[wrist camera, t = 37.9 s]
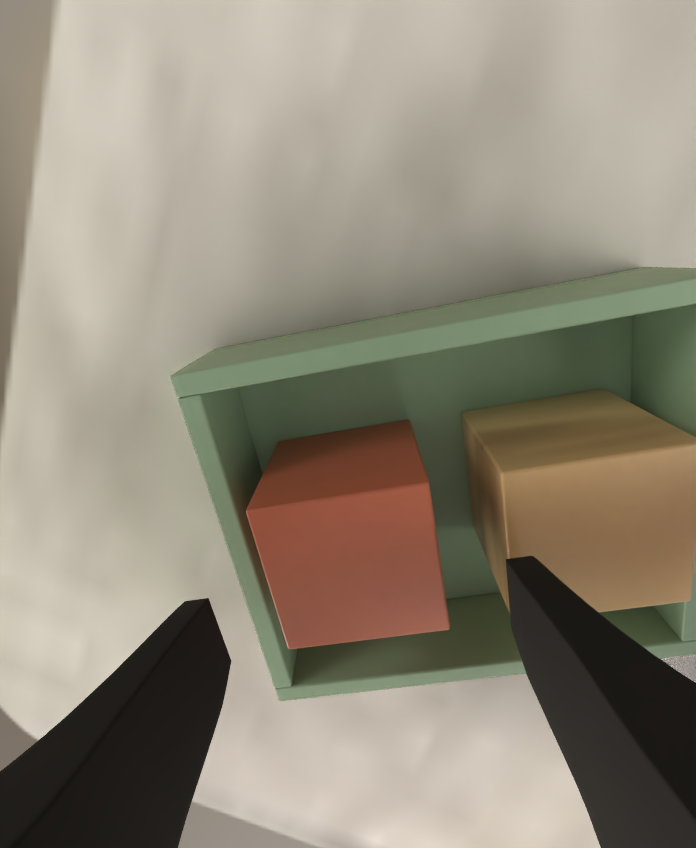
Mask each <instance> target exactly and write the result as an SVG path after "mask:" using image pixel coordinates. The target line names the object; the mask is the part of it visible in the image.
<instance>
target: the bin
mask: <svg viewBox="0 0 696 848" xmlns="http://www.w3.org/2000/svg"><path fill="white" fill-rule="evenodd" d="M171 380H172V383H173V386H174V389H175V392H176V395H177V397H180V398H179V404H180V407H181V410H182V413H183V416H184V419H185V422H186V425H187V428H188V431H189V434H190V437H191V440H192V443H193V446H194V449H195V452H196V455H197V457H198V460H199V463H200V466H201V469H202V472H203V475H204V478H205V481H206V484H207V487H208V490H209V493H210V496H211V499H212V502H213V505H214V508H215V511H216V514H217V517H218V520H219V523H220V526H221V529H222V532H223V535H224V538H225V541H226V544H227V547H228V550H229V553H230V556H231V559H232V562H233V565H234V568H235V571H236V574H237V577H238V580H239V583H240V586H241V589H242V592H243V595H244V598H245V601H246V604H247V607H248V610H249V613H250V616H251V619H252V622H253V625H254V628H255V631H256V634H257V637H258V640H259V643H260V646H261V649H262V652H263V655H264V658H265V661H266V664H267V667H268V670H269V673H270V676H271V679H272V682H273V685H274V687H275V690H276V693H277V696H278V699H279V701H286V700H295V699H303V698H312V697H321V696H330V695H339V694H348V693H357V692H366V691H374V690H383V689H392V688H401V687H410V686H419V685H428V684H436V683H445V682H454V681H463V680H472V679H481V678H490V677H498V676H507V675H516V674H525V673H526V671H525V668H524V665H523V662H522V659H521V656H520V653H519V650H518V647H517V644H516V641H515V638H514V635H513V632H512V629H511V619H510V613H509V611H508V609H507V606H506V604H505V601H504V599H503V597H502V594H501V592H500V589H499V587H498V585H497V582H496V580H495V577H494V575H493V573H492V570H491V568H490V565H489V563H488V561H487V558H486V556H485V553H484V551H483V549H482V546H481V544H480V541H479V539H478V537H477V534H476V532H475V529H474V525H473V516H472V507H471V498H470V489H469V480H468V471H467V462H466V453H465V444H464V435H463V426H462V417H461V414H462V412H464V411H470V410H476V409H482V408H488V407H494V406H500V405H506V404H512V403H518V402H524V401H529V400H535V399H541V398H547V397H553V396H559V395H565V394H571V393H577V392H583V391H589V390H595V389H601V388H603V389H606V390H608V391H609V392H611V393H613V394H615V395H617V396H619V397H621V398H623V399H624V400H626V401H628V402H630V403H632V404H634V405H636V406H638V407H639V408H641V409H643V410H645V411H647V412H649V413H651V414H653V415H654V416H656V417H658V418H660V419H662V420H664V421H666V422H668V423H669V424H671V425H673V426H675V427H677V428H679V429H681V430H683V431H684V432H686V433H688V434H690V435H692V436H694V437H696V268H663V267H642V268H637V269H631V270H626V271H621V272H616V273H610V274H605V275H600V276H595V277H589V278H584V279H579V280H574V281H568V282H563V283H558V284H553V285H547V286H542V287H537V288H532V289H526V290H521V291H516V292H511V293H506V294H500V295H495V296H490V297H485V298H479V299H474V300H469V301H464V302H458V303H453V304H448V305H443V306H437V307H432V308H427V309H422V310H416V311H411V312H406V313H401V314H395V315H390V316H385V317H380V318H375V319H369V320H364V321H359V322H354V323H348V324H343V325H338V326H333V327H327V328H322V329H317V330H312V331H306V332H301V333H296V334H291V335H285V336H280V337H275V338H270V339H264V340H259V341H254V342H249V343H243V344H238V345H233V346H228V347H223V348H217V349H214V350H212V351H211V352H209V353H207V354H206V355H204V356H202V357H201V358H199V359H198V360H196V361H194V362H193V363H191V364H189V365H188V366H186V367H184V368H183V369H181V370H179V371H178V372H176V373H174V374H173V375H171ZM402 420H410V421H411V424H412V427H413V431H414V434H415V437H416V441H417V444H418V447H419V451H420V454H421V457H422V461H423V464H424V467H425V471H426V474H427V477H428V481H429V484H430V491H431V498H432V505H433V512H434V519H435V526H436V533H437V540H438V547H439V554H440V561H441V567H442V574H443V581H444V588H445V595H446V602H447V609H448V616H449V623H450V628H449V629H448V630H443V631H434V632H426V633H418V634H410V635H402V636H394V637H386V638H378V639H370V640H361V641H353V642H345V643H337V644H329V645H321V646H313V647H305V648H297V649H288V647H287V644H286V641H285V637H284V634H283V631H282V628H281V624H280V621H279V618H278V615H277V611H276V608H275V605H274V602H273V598H272V595H271V592H270V589H269V585H268V582H267V579H266V576H265V572H264V569H263V566H262V563H261V559H260V556H259V553H258V550H257V546H256V543H255V540H254V537H253V533H252V530H251V527H250V524H249V520H248V517H247V514H246V510H247V507H248V505H249V503H250V501H251V499H252V497H253V494H254V492H255V490H256V488H257V486H258V484H259V482H260V479H261V477H262V475H263V473H264V471H265V469H266V466H267V464H268V462H269V460H270V458H271V456H272V453H273V451H274V449H275V447H276V445H277V443H278V442H279V441H283V440H289V439H295V438H301V437H307V436H313V435H319V434H325V433H331V432H337V431H343V430H349V429H355V428H360V427H366V426H372V425H378V424H384V423H390V422H396V421H402ZM599 613H600V614H601V615H602V616H604V617H605V618H606V619H607V620H609V621H610V622H611V623H612V624H614V625H615V626H616V627H617V628H619V629H620V630H621V631H623V632H624V633H625V634H626V635H628V636H629V637H630V638H632V639H633V640H634V641H636V642H637V643H639V644H640V645H641V646H643V647H644V648H645V649H647V650H648V651H649V652H651V653H652V654H653V655H655V656H656V657H658V658H667V657H676V656H685V655H693V654H696V549H695V561H694V572H693V584H692V595H691V600H690V601H686V602H678V603H670V604H662V605H654V606H646V607H638V608H630V609H621V610H613V611H605V612H599Z"/></svg>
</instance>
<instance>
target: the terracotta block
mask: <svg viewBox="0 0 696 848" xmlns="http://www.w3.org/2000/svg"><path fill="white" fill-rule="evenodd" d="M246 514H247V517H248V520H249V524H250V527H251V530H252V533H253V537H254V540H255V543H256V546H257V550H258V553H259V556H260V559H261V563H262V566H263V569H264V572H265V576H266V579H267V582H268V585H269V589H270V592H271V595H272V598H273V602H274V605H275V608H276V611H277V615H278V618H279V621H280V624H281V628H282V631H283V634H284V637H285V641H286V644H287V647H288V649H297V648H305V647H313V646H321V645H329V644H337V643H345V642H353V641H361V640H370V639H378V638H386V637H394V636H402V635H410V634H418V633H426V632H434V631H443V630H448V629H449V628H450V623H449V616H448V609H447V602H446V595H445V588H444V581H443V574H442V567H441V561H440V554H439V547H438V540H437V533H436V526H435V519H434V512H433V505H432V498H431V491H430V484H429V481H428V477H427V474H426V471H425V467H424V464H423V461H422V457H421V454H420V451H419V447H418V444H417V441H416V437H415V434H414V431H413V427H412V424H411V421H410V420H402V421H396V422H390V423H384V424H378V425H372V426H366V427H360V428H355V429H349V430H343V431H337V432H331V433H325V434H319V435H313V436H307V437H301V438H295V439H289V440H283V441H279V442H278V443H277V445H276V447H275V449H274V451H273V453H272V456H271V458H270V460H269V462H268V464H267V466H266V469H265V471H264V473H263V475H262V477H261V479H260V482H259V484H258V486H257V488H256V490H255V492H254V494H253V497H252V499H251V501H250V503H249V505H248V507H247V510H246Z"/></svg>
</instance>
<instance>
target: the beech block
mask: <svg viewBox="0 0 696 848" xmlns="http://www.w3.org/2000/svg"><path fill="white" fill-rule="evenodd" d="M461 417H462V426H463V435H464V444H465V453H466V462H467V471H468V480H469V489H470V498H471V507H472V516H473V525H474V529H475V532H476V534H477V537H478V539H479V541H480V544H481V546H482V549H483V551H484V553H485V556H486V558H487V561H488V563H489V565H490V568H491V570H492V573H493V575H494V577H495V580H496V582H497V585H498V587H499V589H500V592H501V594H502V597H503V599H504V601H505V604H506V606H507V609H508V611H509V613H510V607H509V595H508V583H507V571H506V559H510V558H518V557H525V556H534V557H535V558H537V559H538V560H539V561H540V562H541V563H542V564H543V565H544V566H546V567H547V568H548V569H549V570H550V571H551V572H552V573H553V574H554V575H555V576H557V577H558V578H559V579H560V580H561V581H562V582H563V583H564V584H566V585H567V586H568V587H569V588H570V589H571V590H572V591H574V592H575V593H576V594H577V595H578V596H579V597H581V598H582V599H583V600H584V601H585V602H586V603H588V604H589V605H590V606H591V607H593V608H594V609H595V610H596V611H597V612H605V611H613V610H621V609H630V608H638V607H646V606H654V605H662V604H670V603H678V602H686V601H690V600H691V595H692V584H693V572H694V561H695V549H696V437H694V436H692V435H690V434H688V433H686V432H684V431H683V430H681V429H679V428H677V427H675V426H673V425H671V424H669V423H668V422H666V421H664V420H662V419H660V418H658V417H656V416H654V415H653V414H651V413H649V412H647V411H645V410H643V409H641V408H639V407H638V406H636V405H634V404H632V403H630V402H628V401H626V400H624V399H623V398H621V397H619V396H617V395H615V394H613V393H611V392H609V391H608V390H606V389H603V388H601V389H595V390H589V391H583V392H577V393H571V394H565V395H559V396H553V397H547V398H541V399H535V400H529V401H524V402H518V403H512V404H506V405H500V406H494V407H488V408H482V409H476V410H470V411H464V412H462V414H461Z"/></svg>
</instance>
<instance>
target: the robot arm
mask: <svg viewBox="0 0 696 848" xmlns="http://www.w3.org/2000/svg"><path fill="white" fill-rule="evenodd" d="M506 571H507V583H508V595H509V607H510V619H511V629H512V632H513V635H514V638H515V641H516V644H517V647H518V650H519V653H520V656H521V659H522V662H523V665H524V668H525V671H526V674H527V676H528V678H529V680H530V683H531V685H532V687H533V689H534V692H535V694H536V696H537V698H538V700H539V703H540V705H541V707H542V709H543V712H544V714H545V716H546V718H547V720H548V723H549V725H550V727H551V729H552V731H553V734H554V736H555V738H556V740H557V742H558V745H559V747H560V749H561V751H562V753H563V755H564V758H565V760H566V762H567V764H568V766H569V769H570V771H571V773H572V775H573V777H574V780H575V782H576V784H577V787H578V789H579V791H580V794H581V796H582V799H583V801H584V803H585V806H586V808H587V811H588V813H589V816H590V819H591V822H592V824H593V827H594V830H595V833H596V835H597V838H598V841H599V844H600V846H601V848H696V683H695V682H693V681H692V680H690V679H689V678H687V677H686V676H684V675H682V674H681V673H679V672H678V671H676V670H675V669H673V668H672V667H671V666H669V665H668V664H666V663H665V662H663V661H662V660H661V659H659V658H658V657H656V656H655V655H653V654H652V653H651V652H649V651H648V650H647V649H645V648H644V647H643V646H641V645H640V644H639V643H637V642H636V641H634V640H633V639H632V638H630V637H629V636H628V635H626V634H625V633H624V632H623V631H621V630H620V629H619V628H617V627H616V626H615V625H614V624H612V623H611V622H610V621H609V620H607V619H606V618H605V617H604V616H602V615H601V614H600V613H599V612H597V611H596V610H595V609H594V608H593V607H591V606H590V605H589V604H588V603H586V602H585V601H584V600H583V599H582V598H581V597H579V596H578V595H577V594H576V593H575V592H574V591H572V590H571V589H570V588H569V587H568V586H567V585H566V584H564V583H563V582H562V581H561V580H560V579H559V578H558V577H557V576H555V575H554V574H553V573H552V572H551V571H550V570H549V569H548V568H547V567H546V566H544V565H543V564H542V563H541V562H540V561H539V560H538V559H537V558H535V557H534V556H525V557H518V558H510V559H506ZM230 664H231V659H230V656H229V654H228V651H227V648H226V645H225V643H224V640H223V637H222V634H221V632H220V629H219V626H218V623H217V621H216V618H215V615H214V612H213V610H212V607H211V604H210V601H209V599H208V598H207V599H199V600H192V601H185V602H184V603H183V604H182V605H181V606H179V607H178V608H177V609H176V610H175V611H174V612H173V613H172V614H171V615H170V616H169V617H168V618H167V619H166V620H165V621H164V622H163V623H162V624H161V625H160V626H159V627H158V628H157V629H156V630H155V631H154V632H153V633H152V634H151V635H150V636H149V637H148V638H147V639H146V640H145V641H144V642H143V643H142V644H141V645H140V646H139V647H138V648H137V649H136V650H135V651H134V652H133V653H132V654H131V655H130V656H129V657H128V658H127V659H126V660H125V661H124V662H123V663H122V664H121V665H120V666H119V667H118V668H117V669H116V670H115V671H114V672H113V673H112V674H111V675H110V676H109V677H108V678H107V679H106V680H105V681H104V682H103V683H102V684H101V685H100V686H99V687H97V688H96V689H95V690H94V691H93V692H92V693H91V694H90V695H89V696H88V697H87V698H86V699H85V700H84V701H83V702H82V703H80V704H79V705H78V706H77V707H76V708H75V709H74V710H73V711H72V712H71V713H70V714H69V715H68V716H66V717H65V718H64V719H63V720H62V721H61V722H60V723H58V724H57V725H56V726H55V727H54V728H53V729H52V730H50V731H49V732H48V733H47V734H46V735H45V736H43V737H42V738H41V739H40V740H39V741H37V742H36V743H35V744H34V745H33V746H31V747H30V748H29V749H28V750H26V751H25V752H24V753H23V754H22V755H20V756H19V757H18V758H17V759H16V760H14V761H13V762H12V763H11V764H9V765H8V766H7V767H6V768H4V769H3V770H1V771H0V848H178V845H179V841H180V838H181V834H182V831H183V827H184V824H185V820H186V817H187V814H188V811H189V808H190V805H191V801H192V798H193V795H194V792H195V789H196V786H197V783H198V780H199V777H200V774H201V771H202V768H203V765H204V762H205V759H206V756H207V752H208V749H209V746H210V743H211V740H212V737H213V734H214V731H215V728H216V724H217V721H218V718H219V715H220V712H221V708H222V705H223V700H224V696H225V691H226V686H227V681H228V675H229V670H230Z"/></svg>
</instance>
